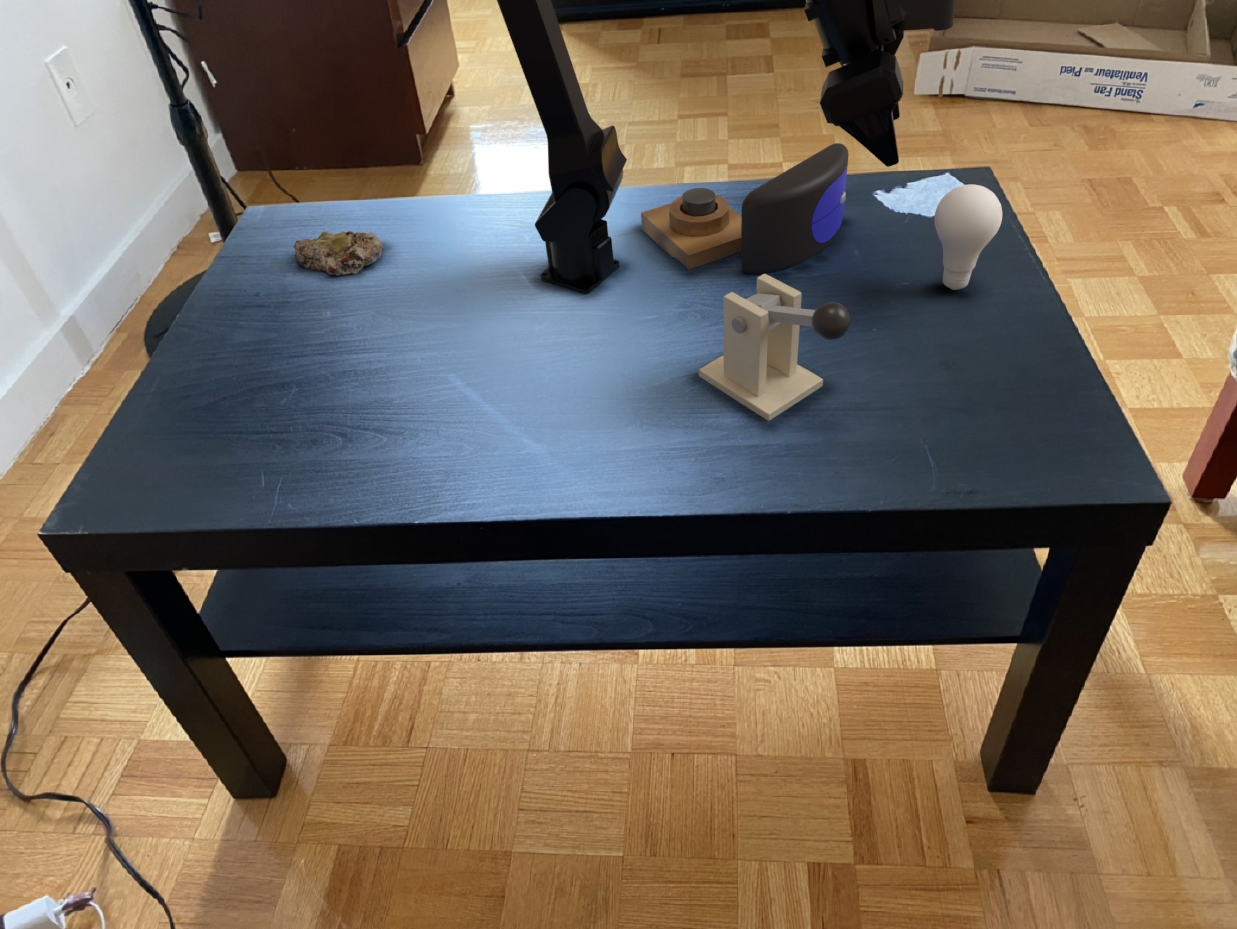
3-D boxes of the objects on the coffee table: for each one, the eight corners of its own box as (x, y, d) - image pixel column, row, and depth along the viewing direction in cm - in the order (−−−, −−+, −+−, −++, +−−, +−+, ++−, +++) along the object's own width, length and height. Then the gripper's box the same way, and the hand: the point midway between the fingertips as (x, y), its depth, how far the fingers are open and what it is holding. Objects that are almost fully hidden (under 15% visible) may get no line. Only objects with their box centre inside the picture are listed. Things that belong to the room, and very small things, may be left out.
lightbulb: (987, 275, 98) (1010, 175, 90) (983, 308, 94) (1006, 207, 86) (926, 269, 99) (942, 170, 92) (919, 301, 95) (936, 200, 88)
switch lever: (861, 332, 76) (854, 297, 75) (835, 348, 75) (828, 313, 73) (766, 319, 85) (759, 287, 83) (742, 333, 83) (734, 301, 82)
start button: (676, 208, 106) (676, 193, 104) (704, 199, 107) (704, 184, 105) (692, 221, 103) (692, 207, 102) (721, 212, 104) (721, 197, 103)
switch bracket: (822, 389, 87) (830, 298, 80) (768, 424, 84) (772, 333, 77) (751, 347, 92) (753, 259, 85) (698, 379, 89) (696, 290, 82)
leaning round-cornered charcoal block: (770, 290, 99) (773, 207, 92) (736, 275, 101) (737, 193, 95) (864, 228, 106) (873, 147, 100) (830, 215, 109) (837, 136, 102)
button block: (641, 229, 110) (639, 198, 107) (709, 208, 112) (709, 176, 110) (688, 273, 102) (687, 240, 100) (760, 248, 105) (761, 216, 102)
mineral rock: (391, 219, 111) (366, 237, 104) (398, 256, 113) (374, 276, 106) (305, 224, 113) (275, 241, 106) (313, 260, 115) (284, 279, 108)
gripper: (936, -36, 68) (992, 156, 76) (932, -105, 81) (980, 65, 89) (789, 30, 73) (856, 203, 82) (807, -45, 86) (864, 111, 95)
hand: (893, 141), depth 87 cm, fingers open, 9 cm apart
